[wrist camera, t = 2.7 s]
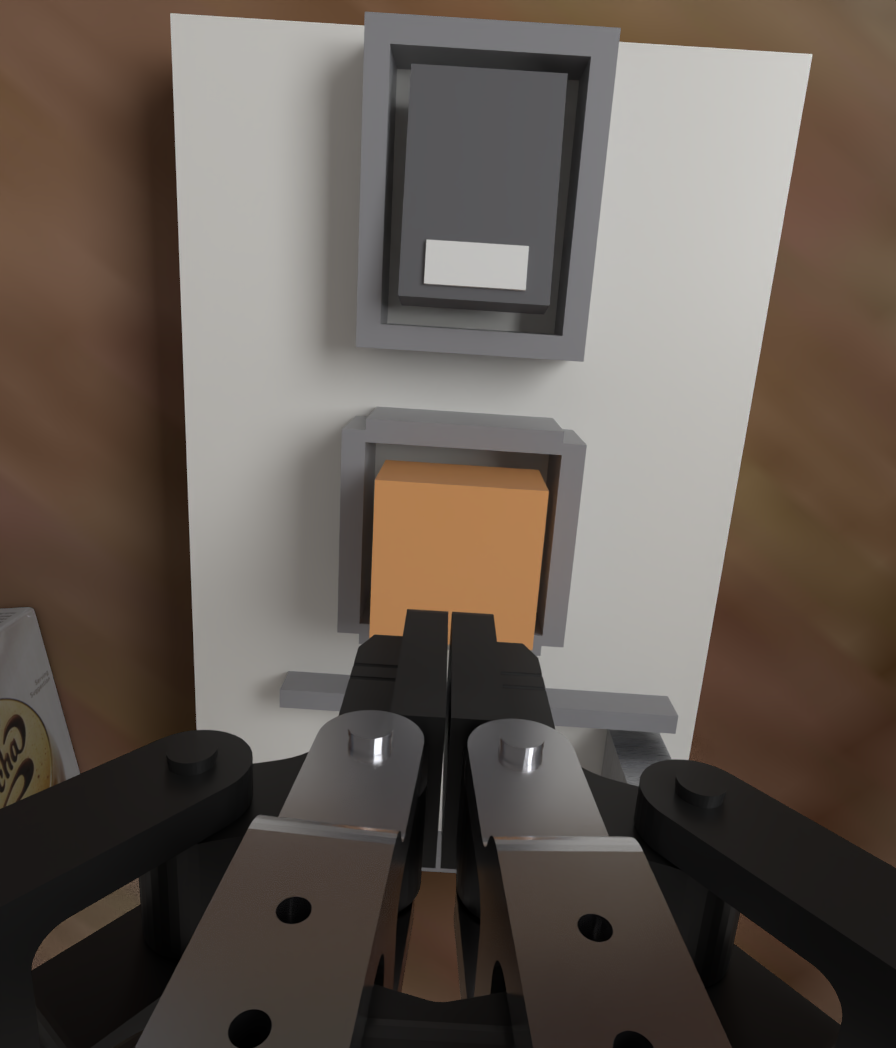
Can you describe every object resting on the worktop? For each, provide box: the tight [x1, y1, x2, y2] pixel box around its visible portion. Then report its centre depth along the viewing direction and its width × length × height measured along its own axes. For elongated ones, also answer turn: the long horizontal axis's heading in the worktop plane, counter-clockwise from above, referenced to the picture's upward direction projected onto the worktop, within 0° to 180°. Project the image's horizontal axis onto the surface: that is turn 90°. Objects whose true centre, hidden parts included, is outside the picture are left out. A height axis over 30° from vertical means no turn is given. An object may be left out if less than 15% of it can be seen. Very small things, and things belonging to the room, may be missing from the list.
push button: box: [369, 460, 549, 650], centre depth 19 cm, size 4×4×2 cm
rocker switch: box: [398, 64, 568, 315], centre depth 18 cm, size 4×5×1 cm
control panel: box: [170, 12, 812, 873], centre depth 22 cm, size 16×25×6 cm, turn 176°
